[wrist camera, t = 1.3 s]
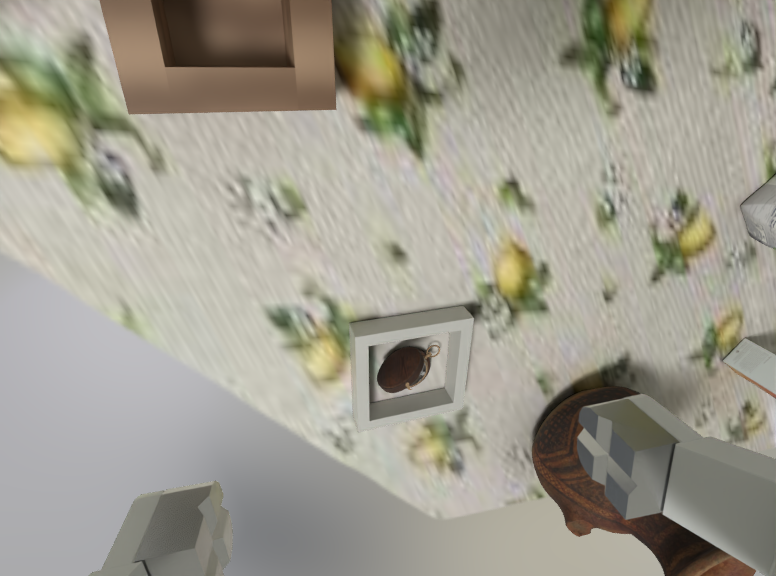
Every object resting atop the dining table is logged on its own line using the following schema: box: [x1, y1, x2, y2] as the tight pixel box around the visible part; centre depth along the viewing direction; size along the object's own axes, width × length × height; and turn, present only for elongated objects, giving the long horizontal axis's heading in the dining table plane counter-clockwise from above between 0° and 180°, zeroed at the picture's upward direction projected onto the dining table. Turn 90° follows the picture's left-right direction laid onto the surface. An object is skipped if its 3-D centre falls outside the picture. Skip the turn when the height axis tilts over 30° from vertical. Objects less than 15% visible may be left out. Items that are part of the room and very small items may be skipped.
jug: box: [532, 386, 756, 576], centre depth 60 cm, size 22×22×30 cm
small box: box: [723, 338, 776, 398], centre depth 74 cm, size 8×6×10 cm
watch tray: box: [349, 306, 474, 432], centre depth 54 cm, size 14×14×3 cm
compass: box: [377, 345, 440, 393], centre depth 52 cm, size 8×8×7 cm
